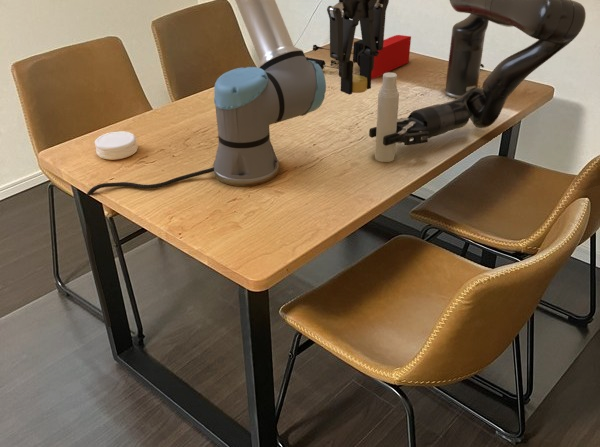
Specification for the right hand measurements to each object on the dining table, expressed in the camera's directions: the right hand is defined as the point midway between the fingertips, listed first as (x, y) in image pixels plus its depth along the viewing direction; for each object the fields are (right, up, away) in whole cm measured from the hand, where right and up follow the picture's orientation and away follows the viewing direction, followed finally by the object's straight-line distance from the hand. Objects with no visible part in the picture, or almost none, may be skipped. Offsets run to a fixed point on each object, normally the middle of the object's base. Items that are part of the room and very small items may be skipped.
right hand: (377, 137), depth 146 cm
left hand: (-7, +7, -22) cm, 24 cm away
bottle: (+2, -4, +4) cm, 7 cm away
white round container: (-64, -3, +9) cm, 65 cm away
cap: (-7, +8, -23) cm, 25 cm away
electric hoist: (-1, +34, +64) cm, 73 cm away
